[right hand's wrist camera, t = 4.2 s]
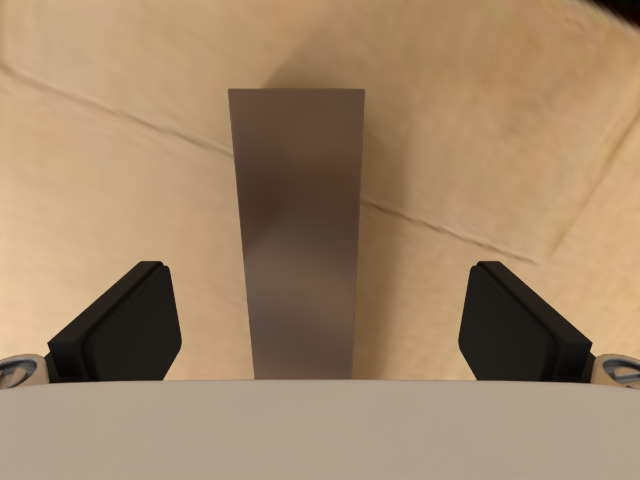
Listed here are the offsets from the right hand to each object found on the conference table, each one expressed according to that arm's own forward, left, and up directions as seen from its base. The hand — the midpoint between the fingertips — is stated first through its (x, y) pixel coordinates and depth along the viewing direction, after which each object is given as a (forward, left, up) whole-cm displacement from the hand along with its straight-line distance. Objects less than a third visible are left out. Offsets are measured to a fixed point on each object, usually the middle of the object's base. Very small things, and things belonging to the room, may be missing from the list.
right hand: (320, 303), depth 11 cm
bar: (+24, -1, -10) cm, 26 cm away
